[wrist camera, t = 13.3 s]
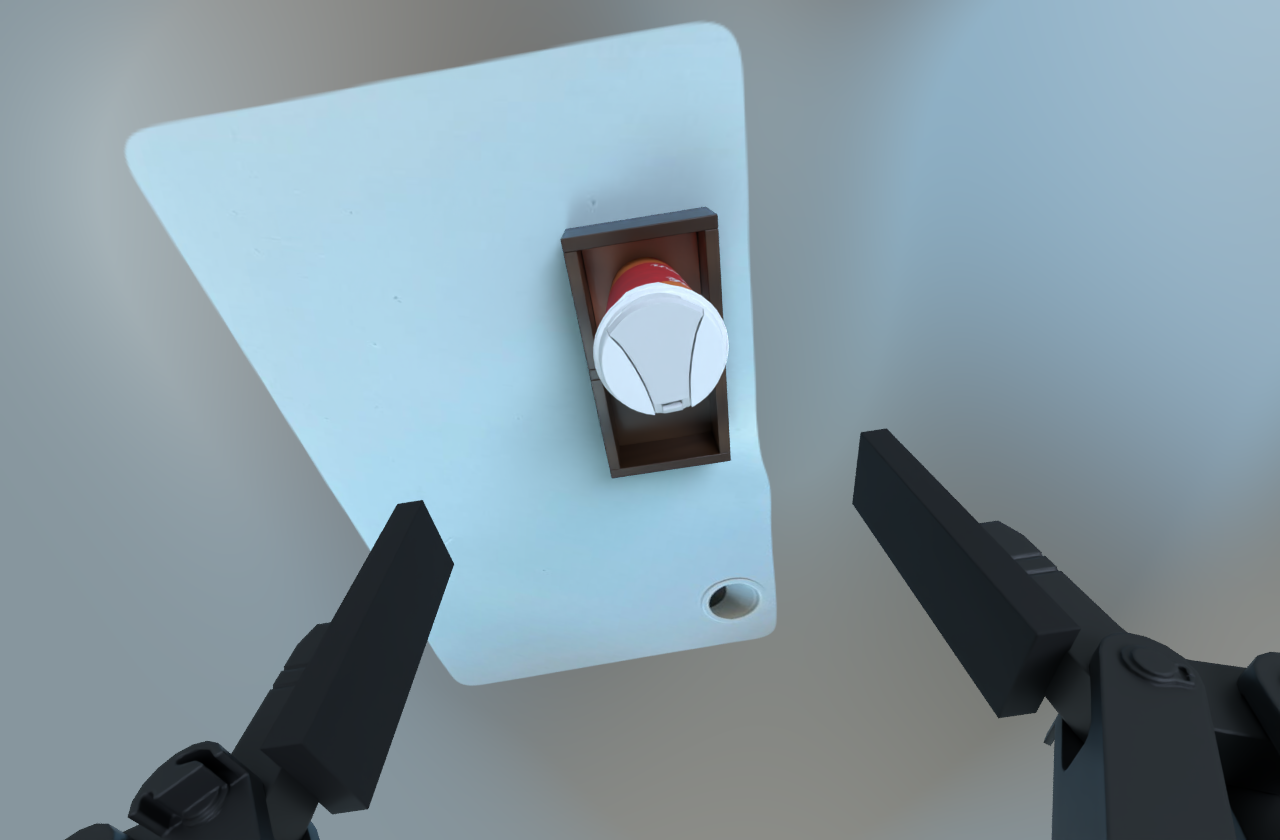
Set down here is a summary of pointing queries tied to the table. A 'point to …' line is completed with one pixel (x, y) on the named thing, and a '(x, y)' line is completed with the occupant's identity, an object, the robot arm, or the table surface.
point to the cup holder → (591, 271)
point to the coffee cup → (658, 340)
